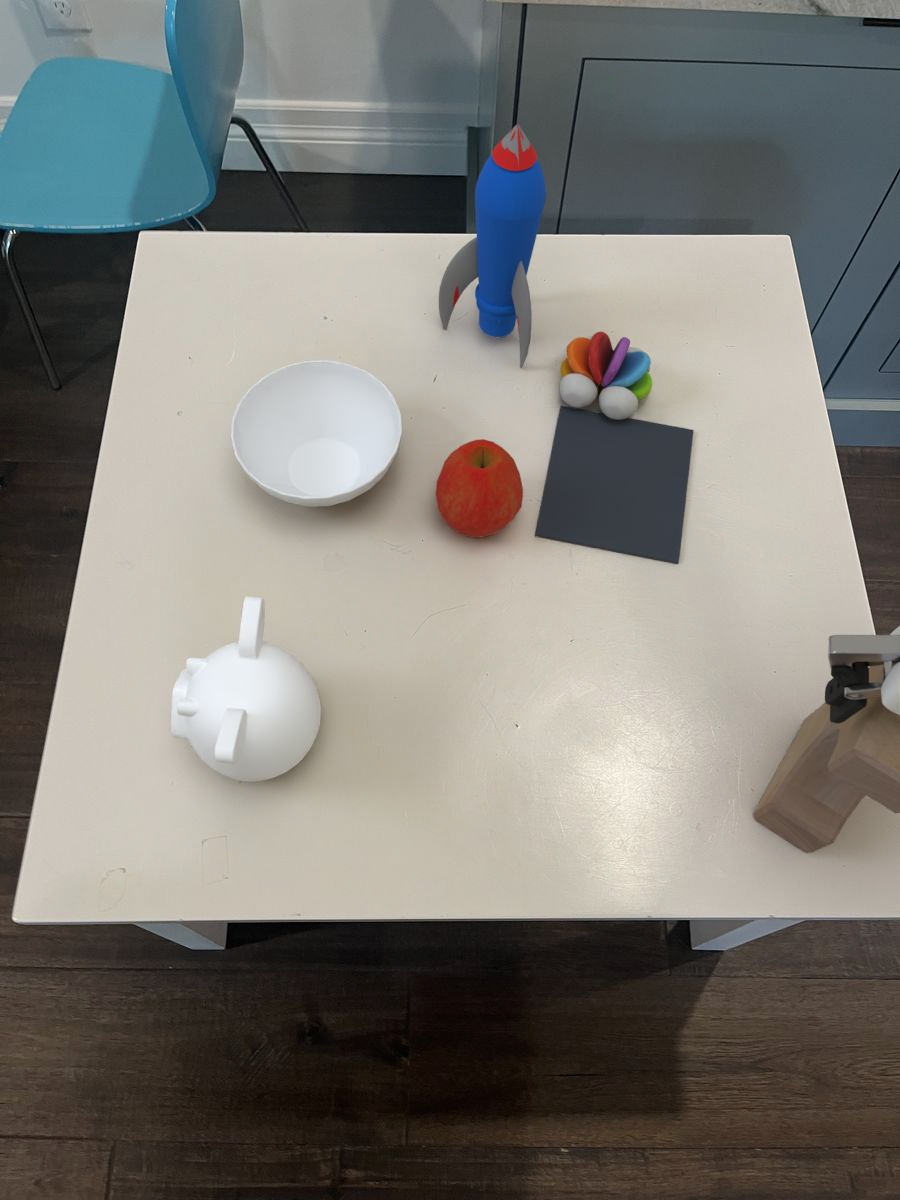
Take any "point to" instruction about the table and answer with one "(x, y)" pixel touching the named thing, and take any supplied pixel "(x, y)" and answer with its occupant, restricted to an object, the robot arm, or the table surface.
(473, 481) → the apple
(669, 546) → the mat
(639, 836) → the table surface
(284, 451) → the bowl
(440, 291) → the toy rocket
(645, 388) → the rainbow petal flower
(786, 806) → the decorative block
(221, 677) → the piggy bank
